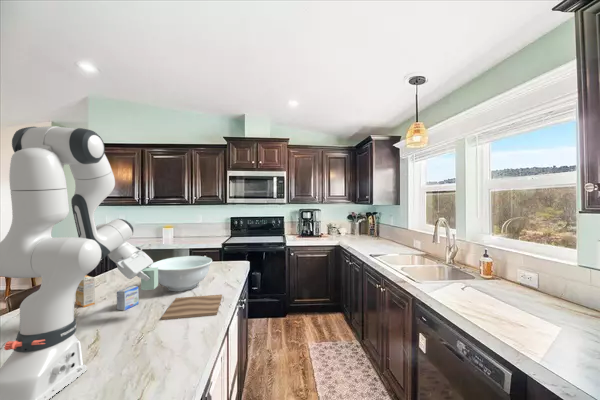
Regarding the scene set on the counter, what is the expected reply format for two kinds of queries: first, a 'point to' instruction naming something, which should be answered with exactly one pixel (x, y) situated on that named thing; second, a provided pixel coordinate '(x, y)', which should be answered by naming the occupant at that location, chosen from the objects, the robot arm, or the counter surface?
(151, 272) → the green block
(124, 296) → the medicine box
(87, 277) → the supplement box
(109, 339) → the counter surface
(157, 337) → the counter surface
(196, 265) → the bowl
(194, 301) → the walnut board
